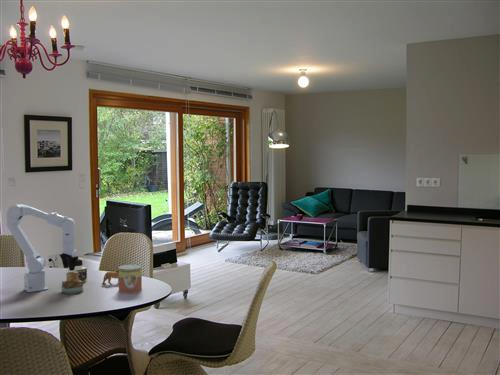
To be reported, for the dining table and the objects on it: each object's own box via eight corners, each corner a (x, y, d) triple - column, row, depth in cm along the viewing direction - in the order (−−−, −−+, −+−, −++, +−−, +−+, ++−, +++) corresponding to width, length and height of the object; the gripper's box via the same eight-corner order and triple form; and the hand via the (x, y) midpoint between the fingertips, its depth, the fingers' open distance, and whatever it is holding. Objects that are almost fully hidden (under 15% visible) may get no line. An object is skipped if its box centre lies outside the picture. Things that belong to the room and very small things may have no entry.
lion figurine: (125, 280, 277) (125, 264, 276) (130, 282, 273) (129, 265, 272) (99, 284, 267) (99, 267, 267) (103, 286, 263) (103, 269, 263)
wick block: (68, 287, 251) (68, 273, 250) (66, 286, 253) (66, 272, 252) (78, 286, 254) (78, 272, 253) (76, 285, 256) (76, 271, 255)
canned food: (118, 294, 249) (118, 269, 248) (118, 288, 260) (118, 265, 259) (142, 292, 252) (142, 268, 251) (141, 287, 263) (140, 263, 262)
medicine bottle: (75, 283, 269) (75, 260, 269) (67, 281, 274) (67, 259, 273) (87, 280, 275) (86, 258, 274) (79, 279, 279) (78, 257, 279)
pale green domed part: (66, 295, 246) (66, 290, 246) (58, 291, 254) (58, 286, 254) (86, 291, 253) (86, 286, 253) (78, 287, 260) (78, 283, 260)
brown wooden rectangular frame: (66, 288, 248) (66, 283, 248) (62, 286, 253) (62, 281, 253) (82, 286, 254) (82, 281, 254) (78, 284, 258) (78, 279, 258)
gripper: (82, 243, 255) (82, 270, 256) (70, 239, 266) (71, 265, 267) (68, 244, 250) (68, 272, 251) (57, 240, 262) (57, 267, 262)
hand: (68, 268), depth 259 cm, fingers open, 7 cm apart
